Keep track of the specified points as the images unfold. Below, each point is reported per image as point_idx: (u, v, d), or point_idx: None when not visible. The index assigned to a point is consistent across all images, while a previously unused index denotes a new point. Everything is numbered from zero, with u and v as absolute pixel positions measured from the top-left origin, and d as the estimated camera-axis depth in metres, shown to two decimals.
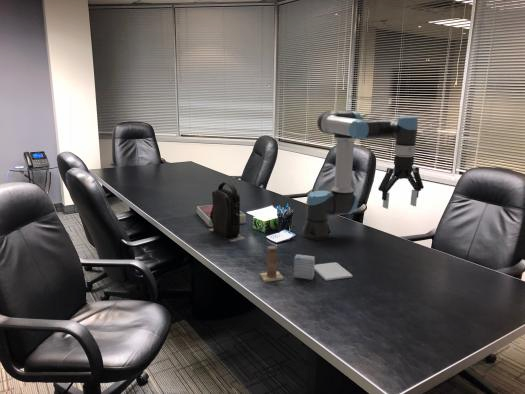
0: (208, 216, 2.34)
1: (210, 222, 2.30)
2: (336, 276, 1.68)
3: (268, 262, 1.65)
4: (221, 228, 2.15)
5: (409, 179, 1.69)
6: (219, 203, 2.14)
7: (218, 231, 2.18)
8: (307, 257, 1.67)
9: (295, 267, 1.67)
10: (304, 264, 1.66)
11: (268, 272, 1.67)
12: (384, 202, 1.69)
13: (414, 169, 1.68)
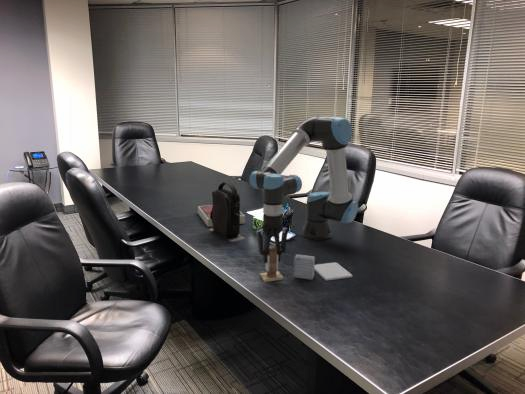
0: (207, 216, 2.35)
1: (209, 222, 2.30)
2: (336, 276, 1.68)
3: None
4: (221, 228, 2.15)
5: (275, 239, 1.64)
6: (219, 203, 2.14)
7: (218, 231, 2.18)
8: (307, 257, 1.67)
9: (295, 267, 1.67)
10: (304, 264, 1.66)
11: (268, 272, 1.67)
12: (266, 264, 1.66)
13: (284, 229, 1.64)
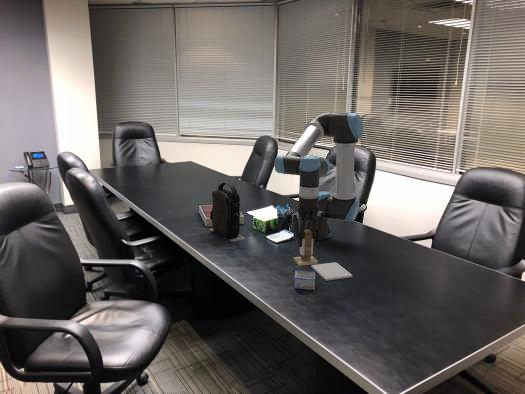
0: (206, 216, 2.35)
1: (207, 222, 2.30)
2: (336, 276, 1.68)
3: None
4: (221, 228, 2.15)
5: (310, 222, 1.62)
6: (219, 203, 2.14)
7: (218, 231, 2.18)
8: (307, 284, 1.57)
9: None
10: None
11: (302, 256, 1.65)
12: (300, 248, 1.64)
13: (319, 213, 1.62)
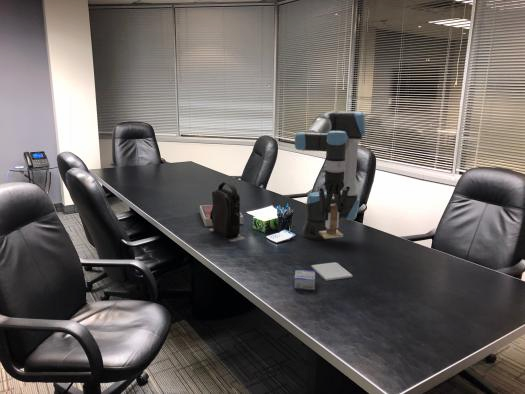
0: (205, 215, 2.35)
1: (206, 221, 2.30)
2: (336, 276, 1.68)
3: None
4: (221, 228, 2.15)
5: (336, 196, 1.66)
6: (219, 203, 2.14)
7: (218, 231, 2.18)
8: (307, 284, 1.57)
9: None
10: None
11: (328, 229, 1.68)
12: (326, 222, 1.68)
13: (345, 187, 1.66)
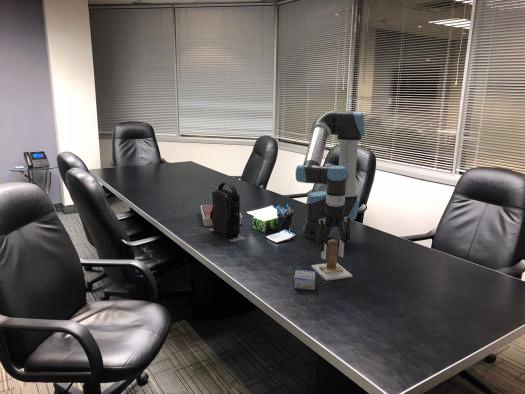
0: (205, 215, 2.35)
1: (205, 221, 2.31)
2: (336, 276, 1.68)
3: (329, 255, 1.71)
4: (221, 228, 2.15)
5: (338, 228, 1.70)
6: (219, 203, 2.14)
7: (218, 231, 2.18)
8: (307, 284, 1.57)
9: None
10: None
11: (328, 264, 1.73)
12: (322, 253, 1.71)
13: (345, 219, 1.70)
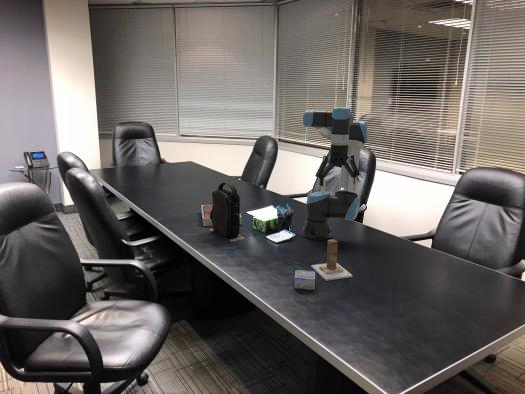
0: (204, 215, 2.36)
1: (204, 221, 2.31)
2: (336, 276, 1.68)
3: (329, 255, 1.71)
4: (221, 228, 2.15)
5: (345, 166, 1.80)
6: (219, 203, 2.14)
7: (218, 231, 2.18)
8: (307, 284, 1.57)
9: None
10: None
11: (328, 264, 1.73)
12: (321, 188, 1.80)
13: (349, 157, 1.80)
